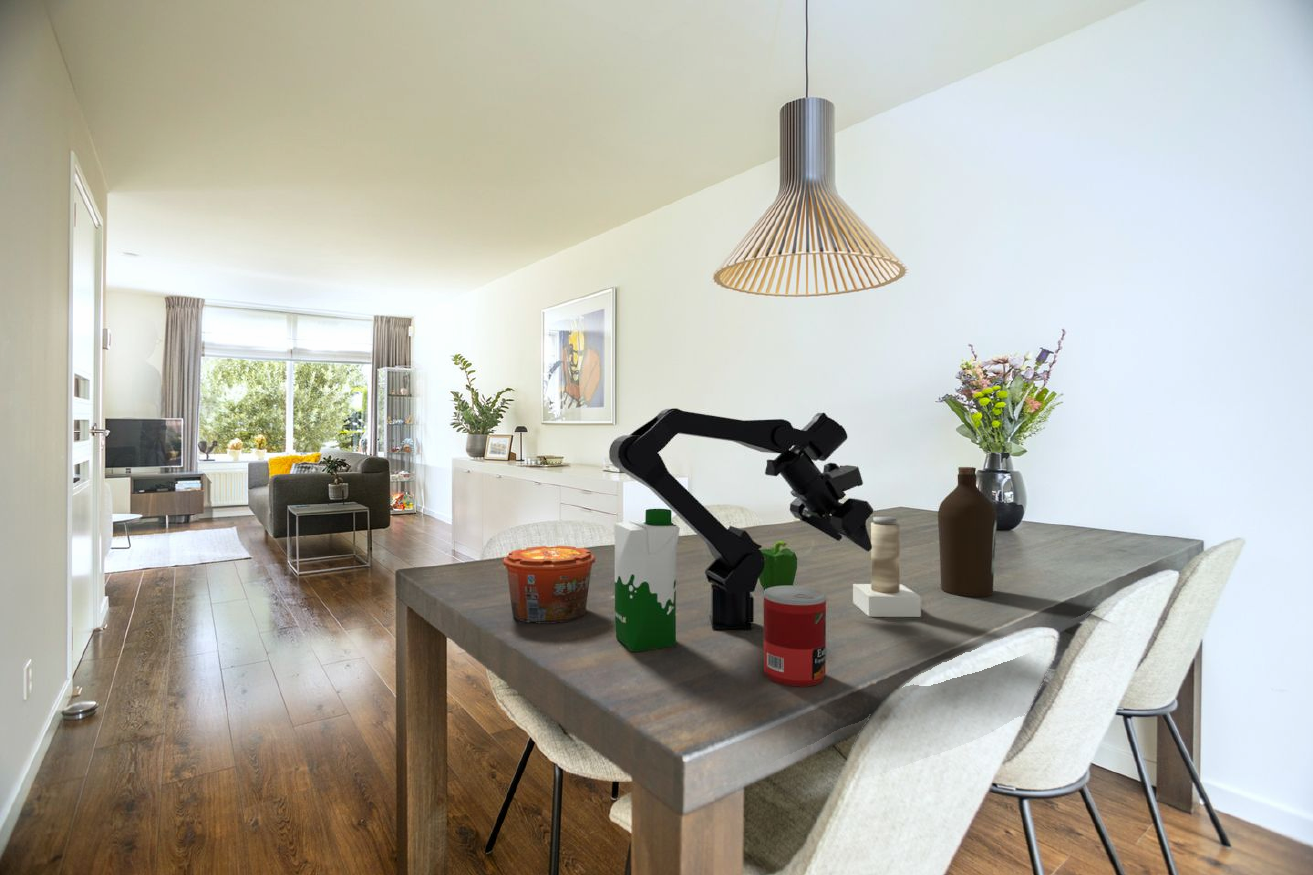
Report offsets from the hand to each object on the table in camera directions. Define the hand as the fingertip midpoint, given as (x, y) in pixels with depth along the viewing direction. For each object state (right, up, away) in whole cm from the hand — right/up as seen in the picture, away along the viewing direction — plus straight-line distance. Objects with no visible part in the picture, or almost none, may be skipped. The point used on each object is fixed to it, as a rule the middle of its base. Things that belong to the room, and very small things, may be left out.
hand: (854, 544), depth 111 cm
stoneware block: (+6, -12, +1) cm, 14 cm away
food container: (-54, -12, -1) cm, 56 cm away
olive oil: (+27, -12, +14) cm, 33 cm away
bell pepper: (-11, -12, +17) cm, 23 cm away
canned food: (-17, -12, -29) cm, 36 cm away
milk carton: (-37, -12, -16) cm, 42 cm away
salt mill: (+6, -8, +1) cm, 11 cm away
